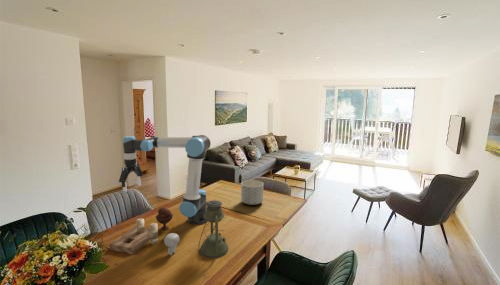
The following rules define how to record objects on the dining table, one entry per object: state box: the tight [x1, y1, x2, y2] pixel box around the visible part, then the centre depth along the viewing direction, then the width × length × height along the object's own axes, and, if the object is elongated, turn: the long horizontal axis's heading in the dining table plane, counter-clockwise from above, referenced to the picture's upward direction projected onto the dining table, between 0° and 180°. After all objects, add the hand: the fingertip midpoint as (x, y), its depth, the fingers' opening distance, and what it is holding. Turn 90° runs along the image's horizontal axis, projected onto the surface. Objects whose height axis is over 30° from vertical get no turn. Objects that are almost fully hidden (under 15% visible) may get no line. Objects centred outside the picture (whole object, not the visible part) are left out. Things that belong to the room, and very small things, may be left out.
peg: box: [149, 222, 159, 245], centre depth 156 cm, size 5×5×12 cm
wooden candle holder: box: [109, 217, 151, 255], centre depth 157 cm, size 16×22×12 cm
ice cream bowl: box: [155, 207, 174, 232], centre depth 173 cm, size 11×11×15 cm
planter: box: [240, 179, 264, 206], centre depth 219 cm, size 19×19×18 cm
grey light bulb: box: [163, 232, 180, 256], centre depth 145 cm, size 8×8×12 cm
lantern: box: [198, 199, 229, 259], centre depth 149 cm, size 21×18×30 cm
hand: (132, 188), depth 179 cm, fingers open, 13 cm apart
